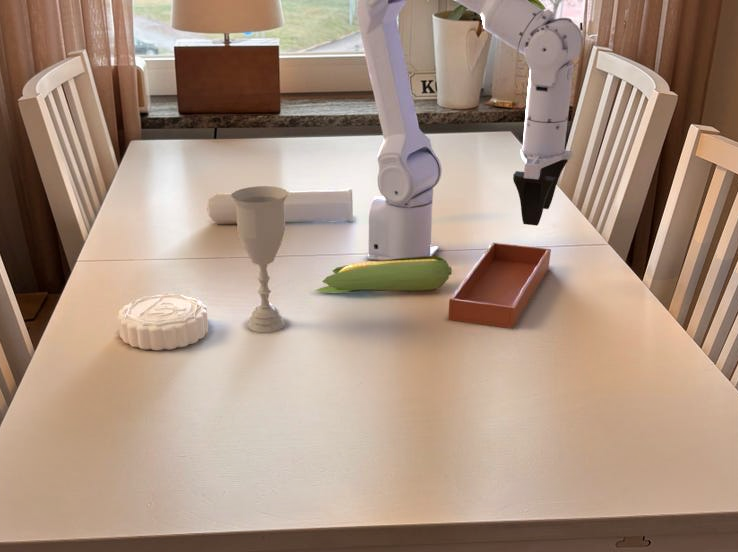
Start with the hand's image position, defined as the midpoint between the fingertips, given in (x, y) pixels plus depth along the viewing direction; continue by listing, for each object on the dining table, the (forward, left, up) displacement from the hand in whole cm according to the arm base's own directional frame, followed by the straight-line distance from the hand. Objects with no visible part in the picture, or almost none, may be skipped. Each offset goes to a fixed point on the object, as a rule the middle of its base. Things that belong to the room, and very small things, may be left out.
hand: (536, 215), depth 148 cm
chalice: (-30, -28, -10) cm, 42 cm away
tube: (-46, +13, -10) cm, 49 cm away
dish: (-3, -6, -10) cm, 12 cm away
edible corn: (-19, -11, -10) cm, 24 cm away
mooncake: (-42, -35, -10) cm, 56 cm away
